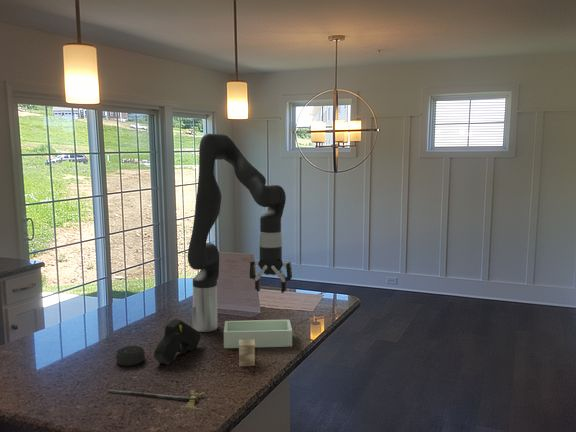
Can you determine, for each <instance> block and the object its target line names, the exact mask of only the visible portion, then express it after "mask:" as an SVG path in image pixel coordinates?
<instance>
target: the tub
mask: <svg viewBox="0 0 576 432" xmlns="http://www.w3.org/2000/svg"><path fill="white" fill-rule="evenodd" d="M250 339H254V340H255V348H282V347H283V348H284V347H289V346H290V347H293V328H292V325H291V321H290V319H262V320H261V319H257V320H256V319H255V320H252V319H251V320H225V321H224V327H223V349H239V340H250Z"/></svg>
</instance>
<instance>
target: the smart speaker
mask: <svg viewBox="0 0 576 432" xmlns="http://www.w3.org/2000/svg"><path fill="white" fill-rule="evenodd" d="M145 354H146V351H145V349H144V348H143V347H141V346H138V345H128V346H124V347H121V348H120V349H118V350H117V351H116V353H115V357H116V358H115V359H116V363H117V364H118V365H119V366H122V367H132V366H137V365H139V364H141V363H143V362H144V361H145V357H146V356H145Z"/></svg>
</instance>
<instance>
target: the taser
mask: <svg viewBox="0 0 576 432" xmlns="http://www.w3.org/2000/svg"><path fill="white" fill-rule="evenodd" d="M201 339H202V332H198V331H197V330H195V329H194V328H193V326H191V325H189V324H187V323H186V322H185V321H182V320H181V319H179V318H178V319H176V318H175V319H172V320H171V321H169V322H168V324H166V325H165V327H164V335H163V337H162V339H161V340H160V342H159V343H158V345H157V346H156V347H155V350H154V353H153V358H155V361H157V362H158V363H159V364H163V365H166V366H169V365H170V364H171V363H172V362H173V361H174V359H175V358H176V355H177V354H178V353H180V354H186V353H187V352H193V351H194V349H197V348H198V346H199V345H200V344H199V343H200V341H201Z"/></svg>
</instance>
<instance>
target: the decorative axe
mask: <svg viewBox="0 0 576 432" xmlns="http://www.w3.org/2000/svg"><path fill="white" fill-rule="evenodd" d="M107 393H110V394H116V395H117V394H118V395H119V394H120V395H128V396H137V397H146V398H155V399H164V400H172V401H173V400H174V401H185V402H187V403H186V404H184V405H182V406H180V407H182V408H186V409H193V410H202V407H199V408H198V407H196V406H195V403H198V401H199V397H201V396H206V394H205V392H203V391H202V392H200V393H197V392H196V390H193V389H191V390H190V393H189V394H188V395H189V396H190V397H189V396H179V395H171V394H161V393H160V394H159V393H149V392H140V391H139V392H138V391H129V390H118V389H117V390H116V389H108V390H107Z"/></svg>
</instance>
